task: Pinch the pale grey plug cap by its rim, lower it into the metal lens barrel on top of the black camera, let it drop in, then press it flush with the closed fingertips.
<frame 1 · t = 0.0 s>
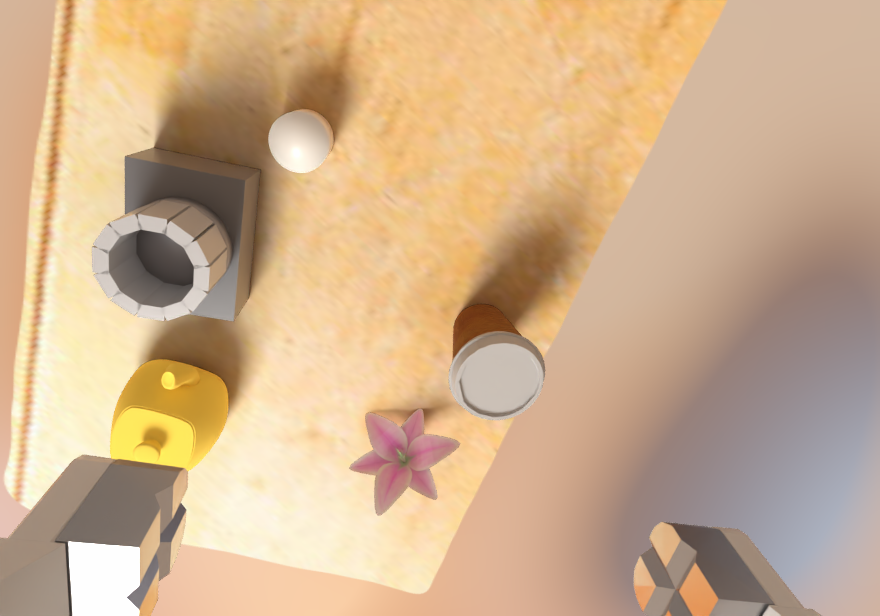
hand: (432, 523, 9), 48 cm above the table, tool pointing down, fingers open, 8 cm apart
teapot: (186, 389, 62), on the table
disposable coffee cup: (479, 327, 62), on the table
lily: (402, 432, 67), on the table
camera: (204, 227, 54), on the table
cap: (306, 137, 52), on the table
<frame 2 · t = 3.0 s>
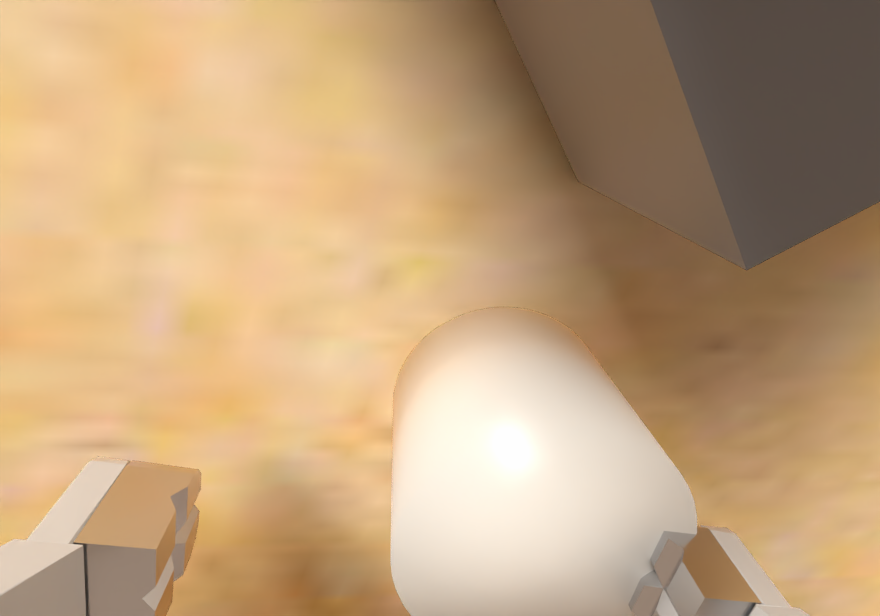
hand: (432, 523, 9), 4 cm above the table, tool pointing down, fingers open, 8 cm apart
cap: (495, 396, 14), on the table, touching gripper
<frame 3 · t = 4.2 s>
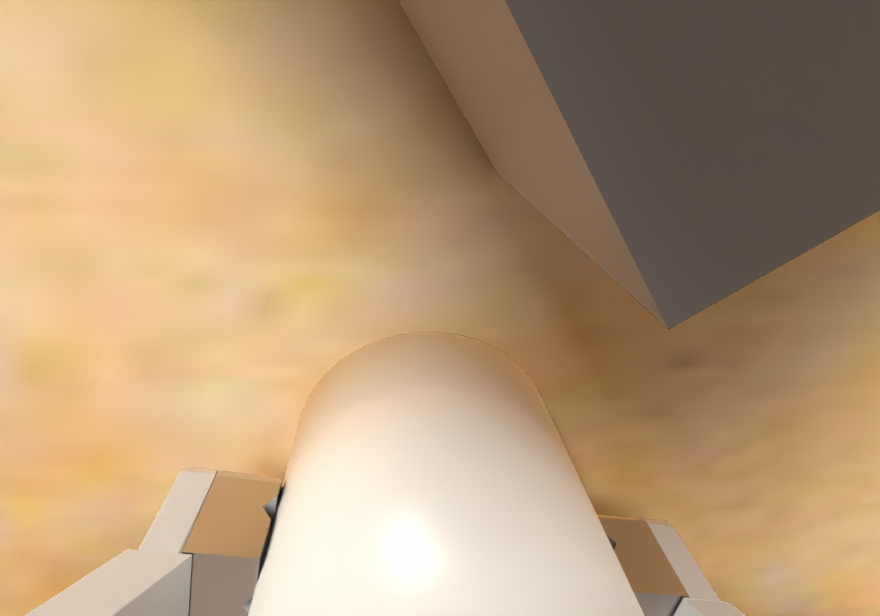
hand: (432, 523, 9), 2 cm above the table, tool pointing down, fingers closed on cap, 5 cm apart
cap: (424, 444, 11), on the table, touching gripper
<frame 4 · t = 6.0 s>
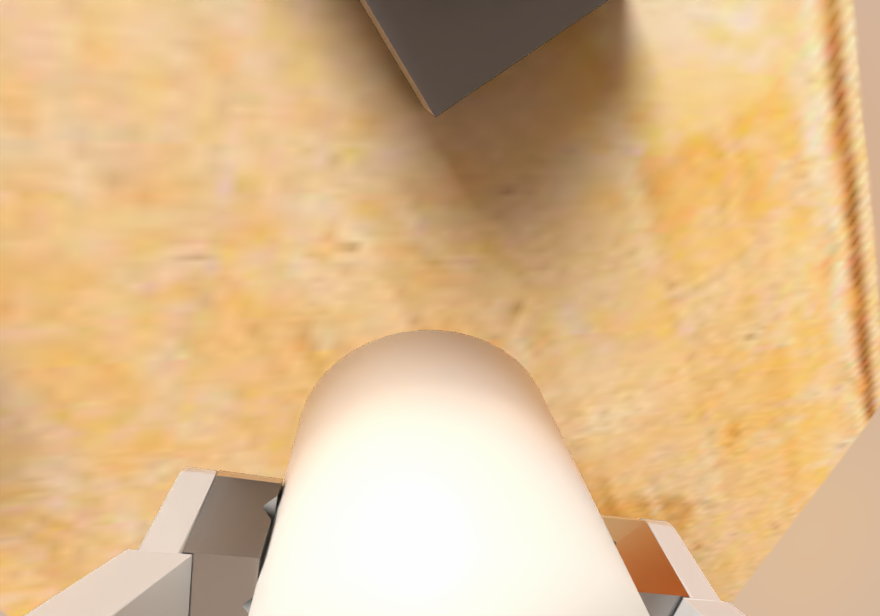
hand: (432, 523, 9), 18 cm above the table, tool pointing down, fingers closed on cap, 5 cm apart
cap: (425, 443, 11), point 16 cm above the table, touching gripper
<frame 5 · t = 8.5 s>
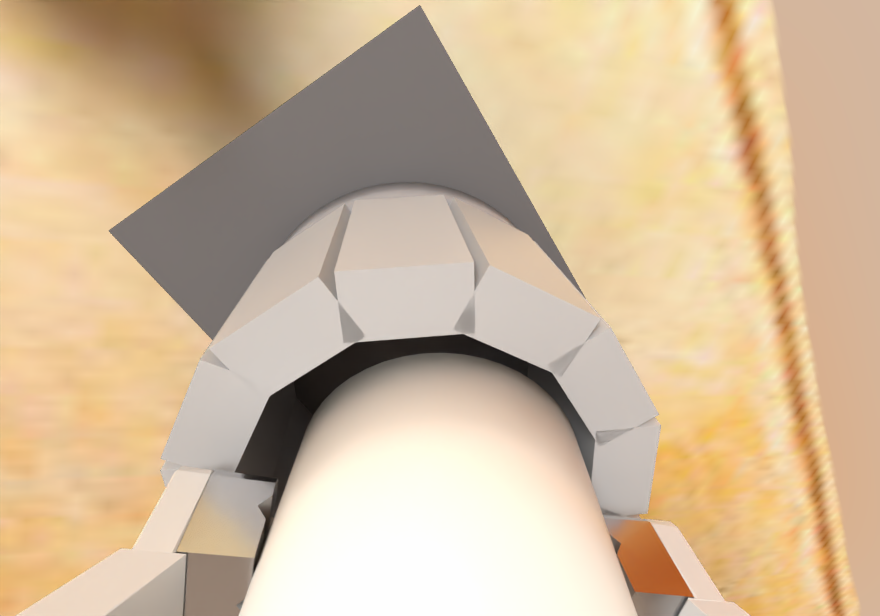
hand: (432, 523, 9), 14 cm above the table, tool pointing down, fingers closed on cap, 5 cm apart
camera: (404, 264, 22), on the table
cap: (439, 472, 10), point 13 cm above the table, tilted 6°, touching gripper
when the fingers open (14 cm above the table, at t = 9.2 s): cap drops 5 cm, resting on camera.
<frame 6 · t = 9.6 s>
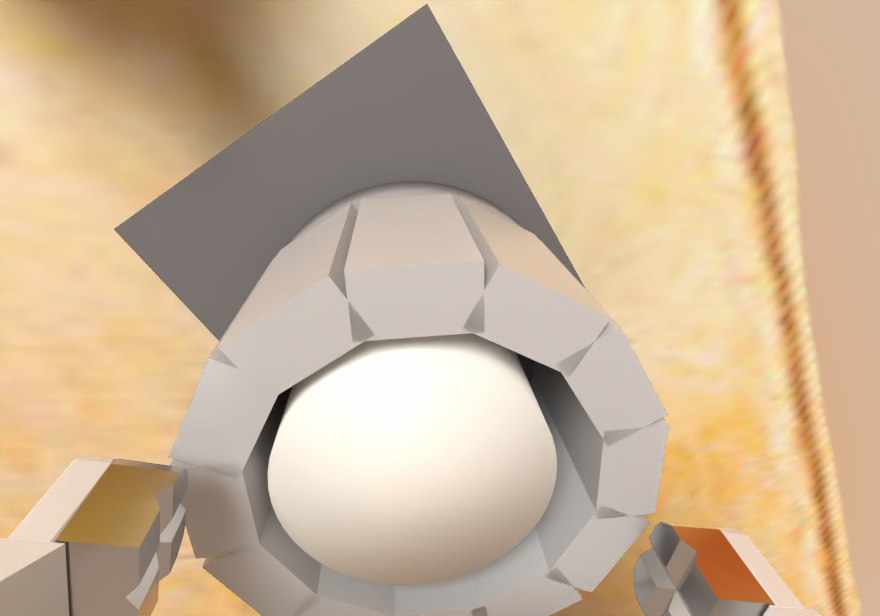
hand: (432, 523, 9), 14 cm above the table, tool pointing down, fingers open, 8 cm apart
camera: (408, 263, 22), on the table
cap: (408, 351, 14), point 8 cm above the table, touching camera
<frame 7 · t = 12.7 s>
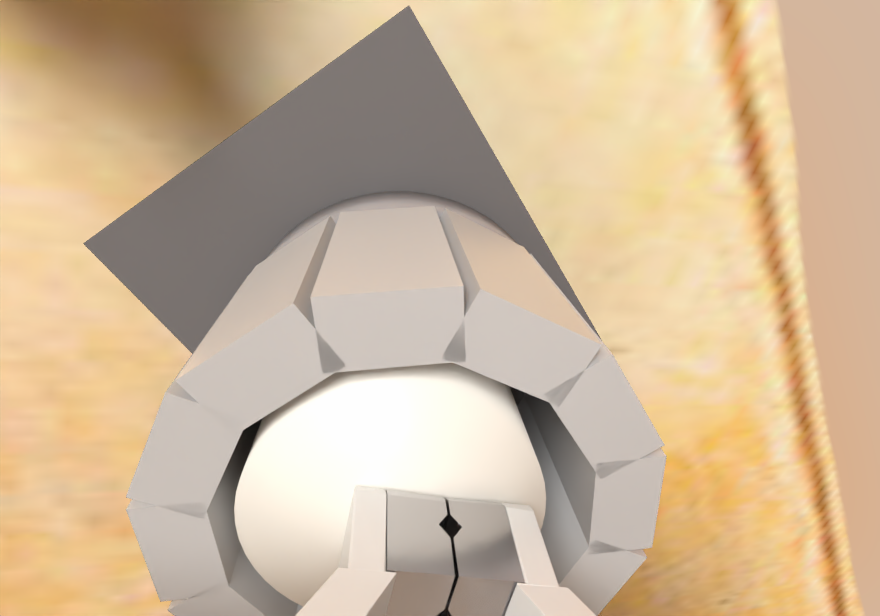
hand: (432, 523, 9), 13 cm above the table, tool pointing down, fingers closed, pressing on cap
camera: (397, 273, 21), on the table
cap: (393, 369, 13), point 8 cm above the table, touching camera, gripper
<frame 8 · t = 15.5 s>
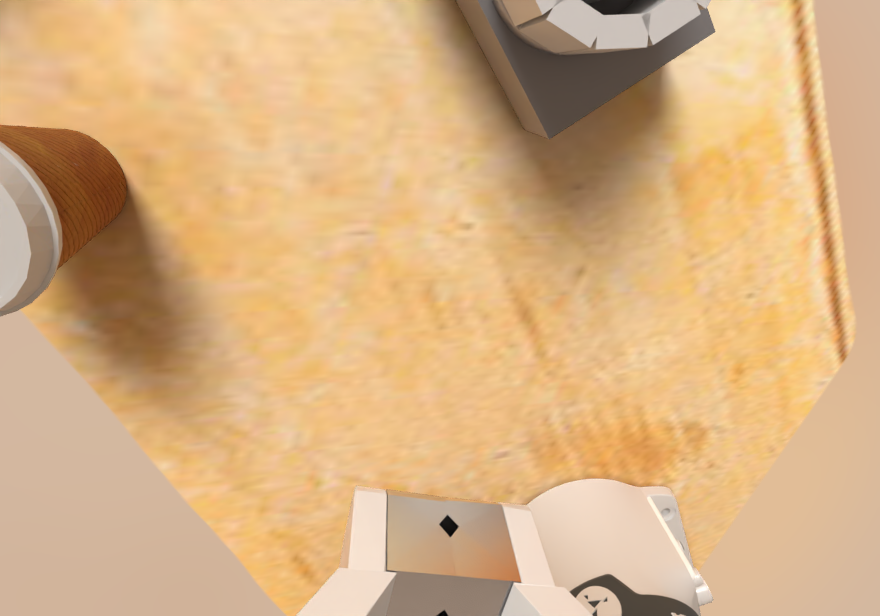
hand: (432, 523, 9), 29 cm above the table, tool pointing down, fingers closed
disposable coffee cup: (76, 179, 34), on the table
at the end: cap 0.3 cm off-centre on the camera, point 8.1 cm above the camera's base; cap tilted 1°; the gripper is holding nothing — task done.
